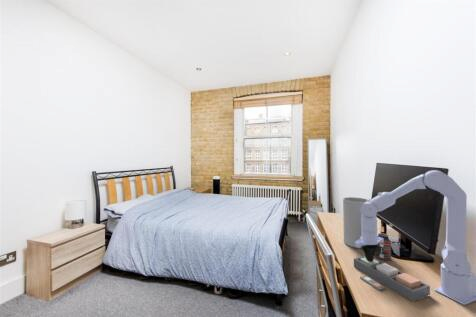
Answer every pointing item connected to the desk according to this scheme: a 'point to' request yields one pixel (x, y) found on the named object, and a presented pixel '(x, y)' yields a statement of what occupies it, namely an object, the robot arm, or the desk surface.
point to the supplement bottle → (384, 248)
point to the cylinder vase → (352, 220)
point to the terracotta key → (408, 281)
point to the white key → (387, 269)
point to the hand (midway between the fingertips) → (369, 260)
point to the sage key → (369, 262)
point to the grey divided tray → (393, 281)
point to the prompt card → (372, 283)
